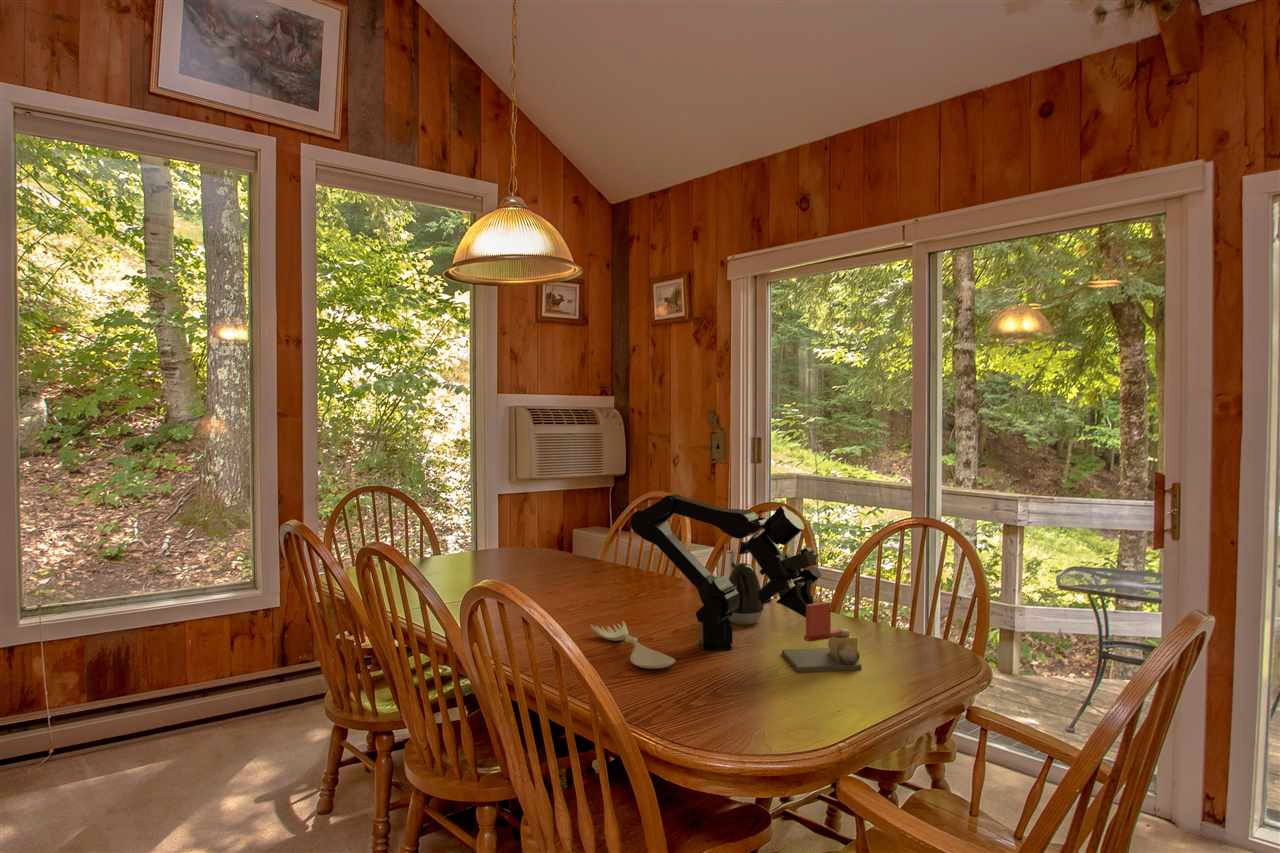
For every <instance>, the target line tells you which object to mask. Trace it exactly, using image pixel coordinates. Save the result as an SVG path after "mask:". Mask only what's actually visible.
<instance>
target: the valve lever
mask: <svg viewBox="0 0 1280 853" xmlns="http://www.w3.org/2000/svg"><path fill="white" fill-rule="evenodd" d="M831 612H832V611H831V602H828V601H823V602H815V603H814V604H808V605H806V618H805V635H804V636H803V640H804V641H805V642H809V643H811V642H817V641H818V642H819V641H823V640H828V639H830V638H832V637H838V636H849V632H850V629H848V628H837V630H832V631H831V626H832V625H831V623H832V622H831V621H832V620H831V618H832V617H831Z"/></svg>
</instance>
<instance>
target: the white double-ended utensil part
mask: <svg viewBox="0 0 1280 853" xmlns="http://www.w3.org/2000/svg"><path fill="white" fill-rule="evenodd" d="M616 624H617V626H616V625H615V624H612V628H613V629H614V630H613V629H612V628H611V627H610V626H609V625H606V629H605V628H604V627H603V626H602V625H601V626H600V627H599V626H598V625H595V626H594V625H593V624H590V629H591V630H592V631H593V632H594V633H596V634H598V635H599V636H600V637H601V638H604V639H606V640H609V641H613V642H619V641H622V640H624V641H625V643H629V644H633V646H634V648H633V649H632V651H631V654H630V657H629V660H630V662H631V663H632V664H633V666H634V665H635V666H637V667H638V668H641V669H646V670H654V669H658V670H659V669H664V668H667V667H670V666H672V665H673V664H675V662H676V659H675V658H673V657H672V656H670V655H666V654H664V653H663V652H660V651H657V650H654V649H651V648H649V647H647V646H645V645H642V644H641V643H639V642H638V641H639V639H638V638H639V637H638V638H637V637H635V636H631V635H630V634H629V631H628V630H629V629H628V627H627V624H626V622H625V621H624V620H622V621H621V624H620V623H618V622H617V623H616Z"/></svg>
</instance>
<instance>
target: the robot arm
mask: <svg viewBox="0 0 1280 853" xmlns="http://www.w3.org/2000/svg"><path fill="white" fill-rule="evenodd" d="M675 514H676V515H678V516H679V515H680V516H682V517H686V518H689V519H692V520H696V521H700V522H703V523H705V524H709V525H712V526H714V527H716V528H718V529H719V530H720V531H721V532H722V533H723V534H726V535H728V536H730V537H732V538H734V539H739V540H740V539H744V538H747V537H750V536H752V537H751V538H749V539H748V540H747V541H741V542H740V547H739V550H738V551H739V552H738V554H739V555H746V554H750V555H751V556H752V558H753V559H754V560H755V562H756V563H757V564H758V566H759V568H761V569H760V570H759V573H760V575H761V576H764V575H766V577H767V578H768V580H769V581H767V583H765V584H764V586H762V587H761V589H760V590H759V591H758V599H759V600H760V602H761V603H762V605H764V606H765V605H767V604H770V603H771V602H772V598H773V597H774V596H775V595H777V594H778V597H779V598H778V599H777V600H776V604H780V605H781V606H783V607H786V608H787V609H790V610H791V611H793V612H795V613H797V614H798V615H800V616H802V617H804V618H805V619H806V605H808V604H815V603H814V599H813V597H812V593H811V587H812V585H813V584H814V583H815V582H816V581H818V579H820V578H821V577H822V572H820V570H819V569H818V568H817V567H813V566H816V565H818V563H817V558H818V553H817V552H815V551H814V549H812V548H811V547H810V546H808V547H805V548H801V549H800V552H799V554H796V555H791V554H790V553H788V552H785V553H783V552H782V550H781V549H780V548H779V546H778V545H781V546H787V545H788V544H789V543H791V541H792V540H793V539H794V538H795V537H797V536H798V535H799V534H801V532H803V530H805V525H804V522H803V521H802V519H801V518H800V517H799V516H798V515H797V514H795V513H794V512H793V511H791V510H790V509H787V508H786V506H785V505H782V506H779V507H778V508H777V509H776V510H775V512H774V513H773V514H772V515H770V517H768V518H766V517H761V516H758V514H757V513H756V512H755V511H753V510H750V509H743V508H742V509H741V508H739V509H738V508H722V507H719V506H716V505H712V504H709V503H705V502H703V501H699V500H694V499H692V498H688V497H684V496H682V495H680V494H677V493H674V494H668V495H665V496H664V497H663V498H662V499H660V500H659V501H657V502H655V503H653V504H651V505H650V506H648V507H646V508H645V509H639V510H637V511H635V512H633V513H632V515H631V518H630V528H631V530H632V531H633V532H634V533H635V534H636V535H638V537H641V538H642V539H643V540H644V541H647V542H649V543H651V544H654V545H655V546H656V547H658V549H659V550H660V551H662V553H663V554H664V555H665V556H666V557H667V558H668V559H669V560H670V561H671V562H672V564H673V565H674V566H675V567H676V568H677V569H678V570H679V571H680V572H681V573H682V575H683V576H685V577H686V579H687V580H688V581H689V582H691V584H692V585H693V586H694V587H695V589H696V590H697V593H698V596H699V599H700V602H701V603H702V606H701V607H700V608H699V609H698V610H697V611H696V612H695V616H696V619H697V622H698V623H700V639H699V644H700V646H701V647H702V650H705V651H709V650H711V651H712V650H715V651H716V650H717V651H718V650H731V649H733V647H732V645H733V626H732V624H731V621H730V620H729V618H728V617H731V616H732V615H733V612H734V610H735V609H737V608H738V606H739V603H740V595H739V593H738V591H737V590H736V588H737V586H735V585H733V584H732V583H731V582H730V581H729V577H727V576H726V575H725V574H724V575H721V576H718V577H717V576H715V575H713V574H712V573H711V572H710V571H709V570H708V569H707V568H706V566H704V565H703V564H702V562H700V560H698V559H697V557H695V555H694V554H693V553H692V552H691V551H690V550H689V549H688V548H687V547H686V546H685V545H684V544H683V543H682V542H681V540H679V539H678V537H677V536H676V535H674V534H675V533H673V532H672V529H671V526H670V523H669V521H668V519H670V518H672V517H673V515H675ZM760 531H762V532H761V533H760V534H756V533H758V532H760Z"/></svg>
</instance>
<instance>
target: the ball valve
mask: <svg viewBox="0 0 1280 853" xmlns="http://www.w3.org/2000/svg"><path fill="white" fill-rule="evenodd" d="M827 646H828V647H827V648H829V649H830V656H831V657H832V658H833V659H834V660H835V661H836V662H845V663H846V664H847V665H854V664H856V663H857V662H859V660H860V657H861V656H860V653H859V651H858V637H857V636H855V634H853V633H851V632H850V631H849V636H838V637H832V638H830V639H829V640H828V643H827Z"/></svg>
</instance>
